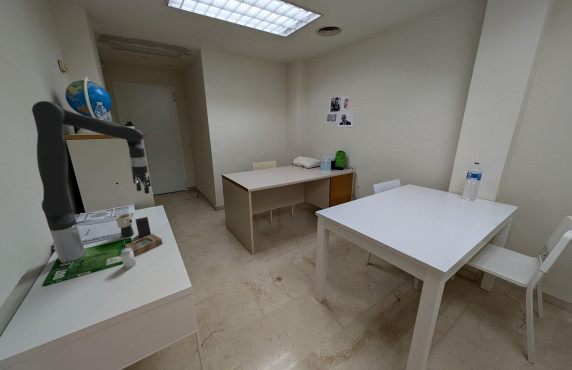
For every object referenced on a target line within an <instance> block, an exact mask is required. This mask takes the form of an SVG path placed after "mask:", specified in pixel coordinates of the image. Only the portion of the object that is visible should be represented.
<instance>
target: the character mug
mask: <svg viewBox="0 0 572 370" xmlns="http://www.w3.org/2000/svg"><path fill="white" fill-rule="evenodd" d="M115 219H116V223H117V227H118V228H119V229H120V236H121V237H122V238H123V237H124V238H125V237H131V236H133V235H134V234H135V233H134V229H133V227H132V225H133V223H134V222H133V218H132V214H131V213H123V214H119V215H117V216H116V217H115Z"/></svg>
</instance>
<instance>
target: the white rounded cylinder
mask: <svg viewBox="0 0 572 370" xmlns="http://www.w3.org/2000/svg"><path fill="white" fill-rule="evenodd" d="M120 252H121V253H120V256H121V261H122V265H123V268H124V269H131V268H133V267H134V266H136V265H137V263H136V259H135V256H134V254H133V250H132V248H123V249H122V250H120Z"/></svg>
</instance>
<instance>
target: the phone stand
mask: <svg viewBox="0 0 572 370" xmlns="http://www.w3.org/2000/svg"><path fill="white" fill-rule="evenodd" d="M135 224H136V227H137V228H136V230H137V234H138V237H139V239H141V238H143V237H146V236H148V235H151V234H152V233H151V228H150V222H149V217H148V216H144V217H141V218H135Z"/></svg>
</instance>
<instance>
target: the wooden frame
mask: <svg viewBox="0 0 572 370" xmlns="http://www.w3.org/2000/svg"><path fill="white" fill-rule="evenodd" d="M162 244H163V240H162V237H159V236H158V235H155V234H153V233H151V235H148V236H146V237H143V238H141V239H136V240H134V241H131V242H129V243H127V244H125V245H124V247H125V248H132V250H133V254H134V257H136V256H137V257H138V256H139V255H140V254H143V253H146V252H147V251H150V250H151V249H154V248H156V247H159V246H160V245H162ZM125 248H124V249H125Z"/></svg>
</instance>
